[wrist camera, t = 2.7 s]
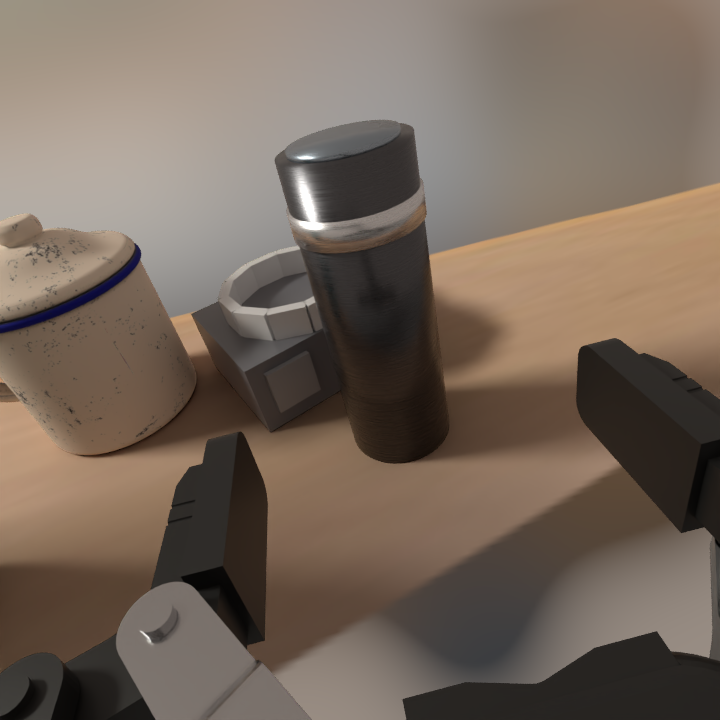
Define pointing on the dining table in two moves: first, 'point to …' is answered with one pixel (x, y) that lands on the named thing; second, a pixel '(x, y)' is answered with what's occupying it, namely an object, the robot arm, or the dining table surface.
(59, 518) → the dining table surface
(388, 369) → the lens
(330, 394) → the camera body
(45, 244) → the teacup with lid
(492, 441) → the dining table surface
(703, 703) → the robot arm
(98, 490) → the dining table surface
